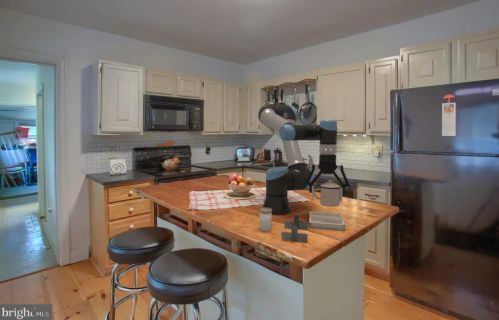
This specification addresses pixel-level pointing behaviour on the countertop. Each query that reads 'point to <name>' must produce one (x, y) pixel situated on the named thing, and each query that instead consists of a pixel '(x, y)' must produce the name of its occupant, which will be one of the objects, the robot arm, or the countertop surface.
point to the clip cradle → (295, 230)
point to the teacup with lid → (329, 194)
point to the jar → (265, 219)
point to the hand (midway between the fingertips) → (326, 200)
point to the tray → (326, 221)
